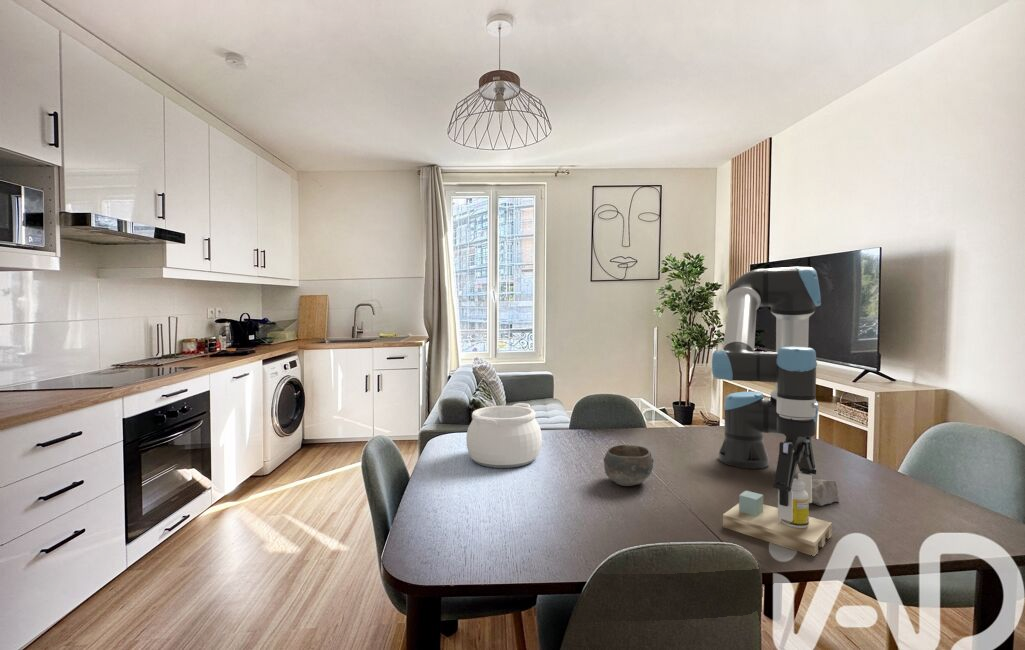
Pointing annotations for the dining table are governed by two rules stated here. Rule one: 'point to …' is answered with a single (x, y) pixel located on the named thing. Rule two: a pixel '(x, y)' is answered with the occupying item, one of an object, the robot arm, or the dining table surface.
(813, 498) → the stone
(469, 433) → the pot
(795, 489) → the supplement bottle
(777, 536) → the pallet
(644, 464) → the bowl
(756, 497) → the pale blue cube
